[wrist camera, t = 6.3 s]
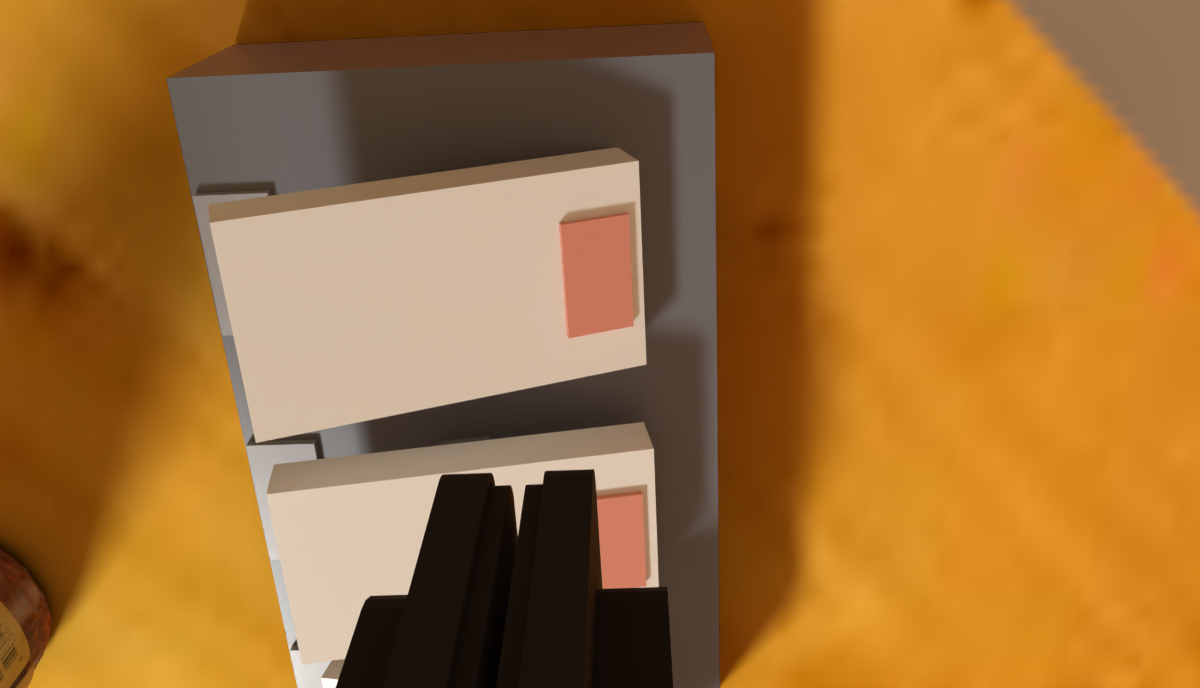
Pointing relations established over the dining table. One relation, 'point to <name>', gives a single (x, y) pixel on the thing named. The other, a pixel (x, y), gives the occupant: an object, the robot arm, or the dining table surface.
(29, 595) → the sauce bottle
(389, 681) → the robot arm
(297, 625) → the middle rocker
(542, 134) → the rocker switch box
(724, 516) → the dining table surface
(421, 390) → the rocker
